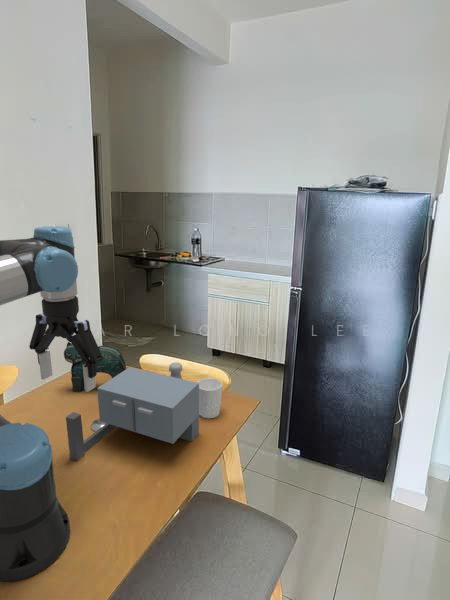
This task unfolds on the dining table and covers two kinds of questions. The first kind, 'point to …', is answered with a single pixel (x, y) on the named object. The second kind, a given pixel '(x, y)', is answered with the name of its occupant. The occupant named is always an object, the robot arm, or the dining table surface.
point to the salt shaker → (175, 370)
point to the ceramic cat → (109, 364)
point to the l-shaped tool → (76, 436)
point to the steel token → (97, 425)
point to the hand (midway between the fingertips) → (68, 383)
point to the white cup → (209, 397)
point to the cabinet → (151, 404)
